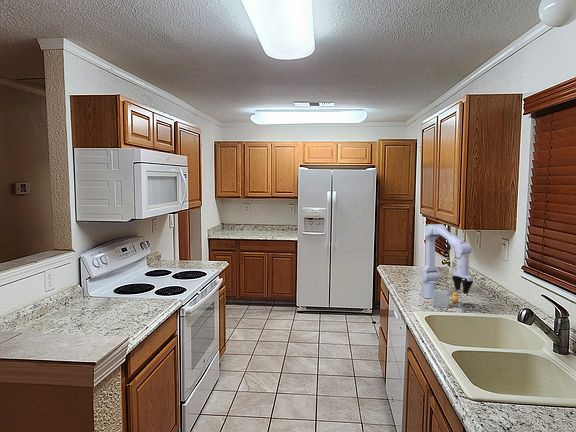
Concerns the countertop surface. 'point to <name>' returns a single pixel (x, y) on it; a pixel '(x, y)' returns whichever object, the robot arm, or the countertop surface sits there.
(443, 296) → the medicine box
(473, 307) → the junction plate
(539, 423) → the countertop surface
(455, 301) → the wire nut cap
